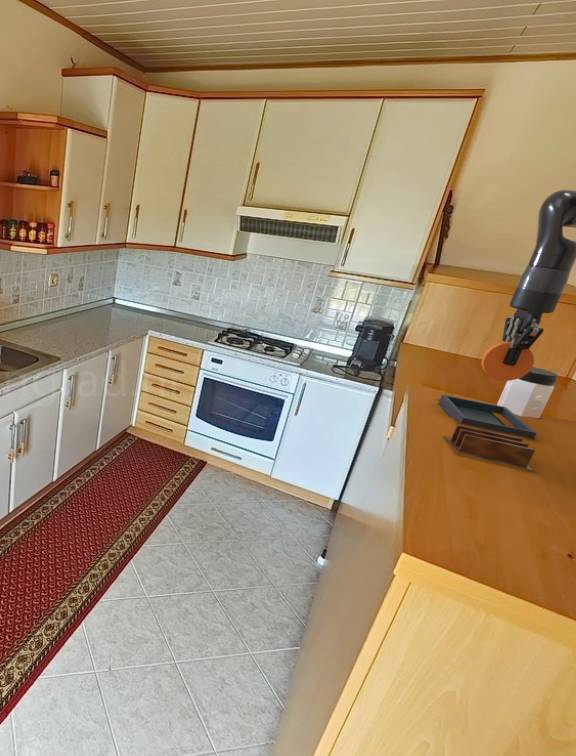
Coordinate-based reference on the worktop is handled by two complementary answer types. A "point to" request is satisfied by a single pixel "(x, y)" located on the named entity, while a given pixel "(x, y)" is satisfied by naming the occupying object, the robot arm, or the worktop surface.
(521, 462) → the rack
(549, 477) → the worktop surface
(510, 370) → the disc
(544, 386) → the jar
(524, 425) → the tray
